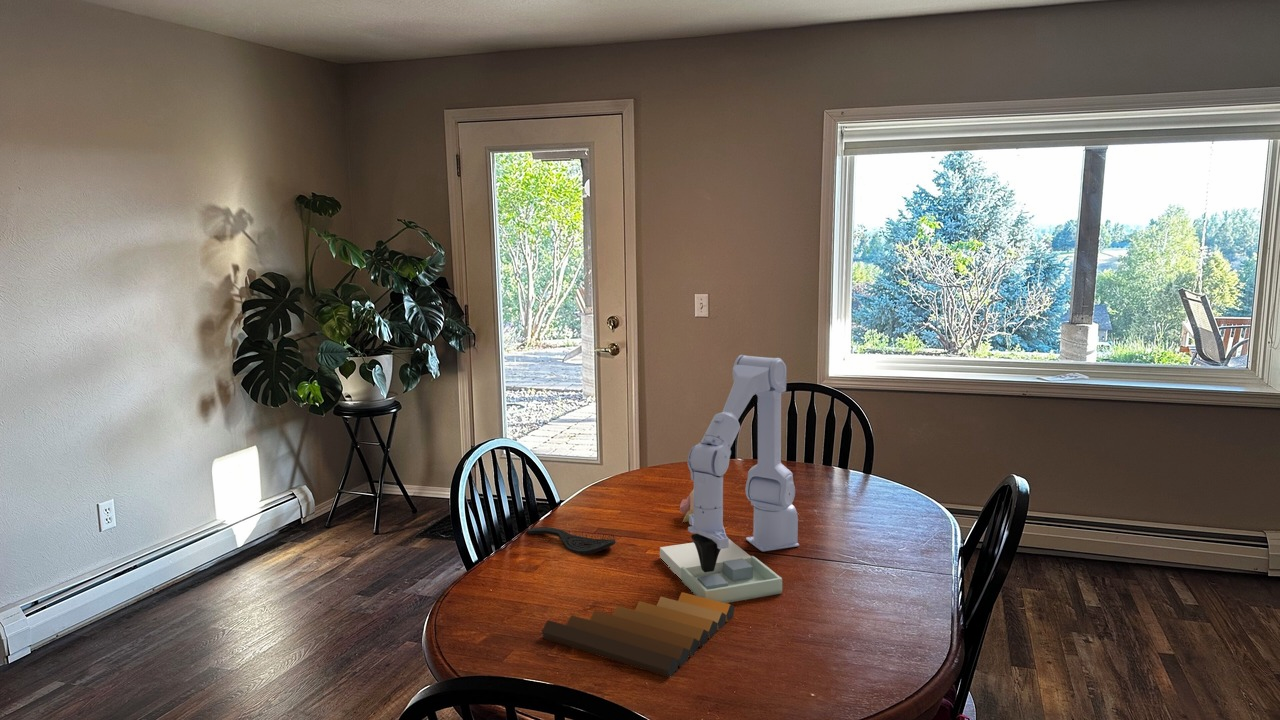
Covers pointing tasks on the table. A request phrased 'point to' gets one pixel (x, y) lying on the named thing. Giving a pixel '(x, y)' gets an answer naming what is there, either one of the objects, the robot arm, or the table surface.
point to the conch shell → (687, 506)
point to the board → (690, 559)
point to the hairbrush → (576, 540)
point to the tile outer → (712, 581)
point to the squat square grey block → (737, 569)
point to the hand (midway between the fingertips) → (707, 570)
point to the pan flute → (646, 632)
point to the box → (737, 585)
